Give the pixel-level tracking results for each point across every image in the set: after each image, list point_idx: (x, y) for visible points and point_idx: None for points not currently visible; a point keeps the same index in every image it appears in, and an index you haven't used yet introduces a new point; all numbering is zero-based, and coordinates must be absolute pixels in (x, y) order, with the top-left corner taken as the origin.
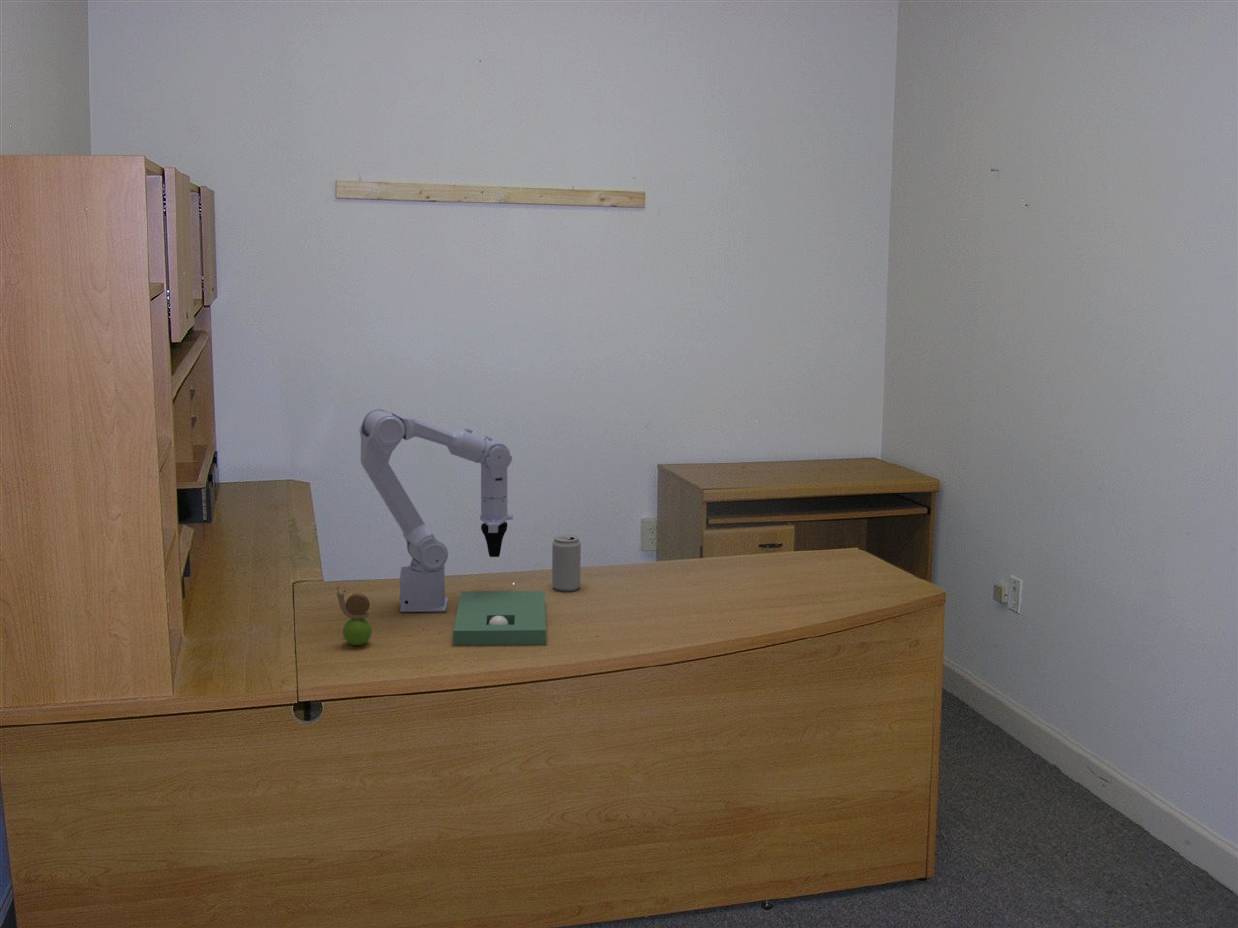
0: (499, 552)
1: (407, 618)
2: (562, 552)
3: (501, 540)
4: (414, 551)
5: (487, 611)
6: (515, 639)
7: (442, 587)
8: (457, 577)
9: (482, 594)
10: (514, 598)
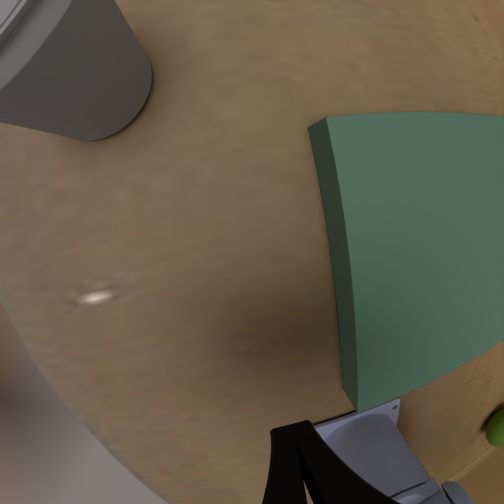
0: (319, 436)
1: (418, 430)
2: (93, 8)
3: (378, 491)
4: None
5: (501, 279)
6: None
7: (396, 446)
8: (115, 444)
9: (388, 349)
10: (424, 229)
